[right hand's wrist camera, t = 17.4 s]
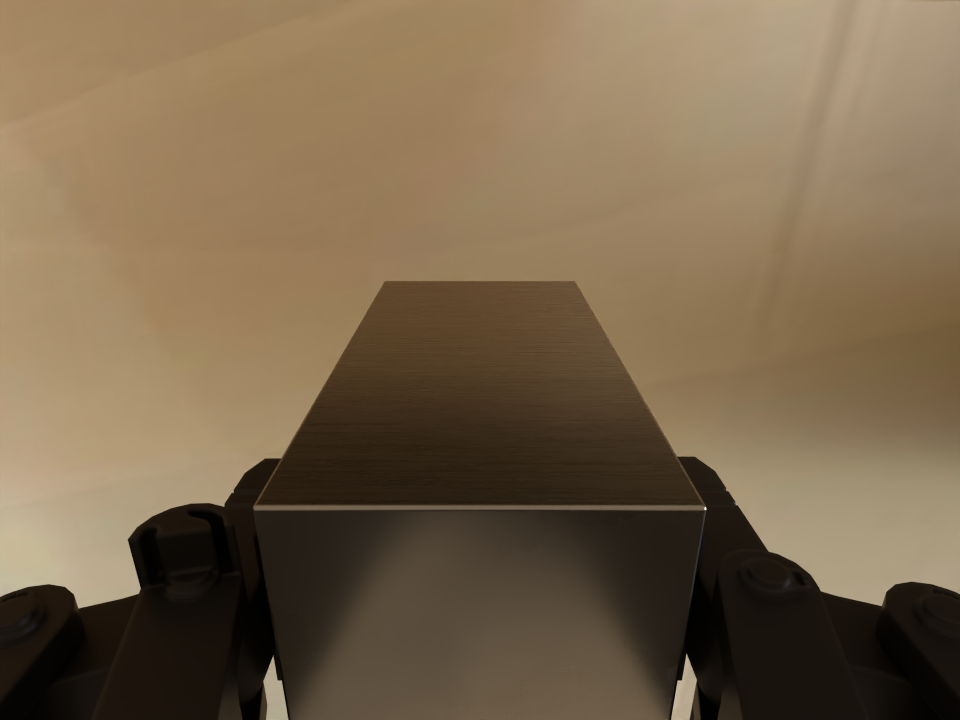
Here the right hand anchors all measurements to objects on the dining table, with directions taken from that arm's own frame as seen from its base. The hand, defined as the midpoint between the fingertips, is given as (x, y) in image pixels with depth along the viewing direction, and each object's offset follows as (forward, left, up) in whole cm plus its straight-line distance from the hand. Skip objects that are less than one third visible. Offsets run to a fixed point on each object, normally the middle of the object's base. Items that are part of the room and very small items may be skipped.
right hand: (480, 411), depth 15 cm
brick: (0, 0, -1) cm, 1 cm away
